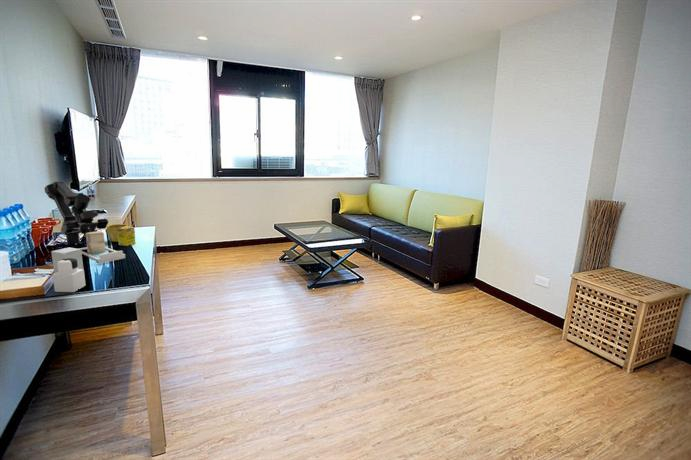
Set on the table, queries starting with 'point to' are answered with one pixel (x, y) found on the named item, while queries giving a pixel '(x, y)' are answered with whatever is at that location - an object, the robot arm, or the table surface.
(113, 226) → the plant pot
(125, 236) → the supplement box
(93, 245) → the birch block
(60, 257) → the supplement box
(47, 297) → the table surface
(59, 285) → the white stepped block
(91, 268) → the table surface
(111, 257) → the tray
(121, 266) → the table surface
